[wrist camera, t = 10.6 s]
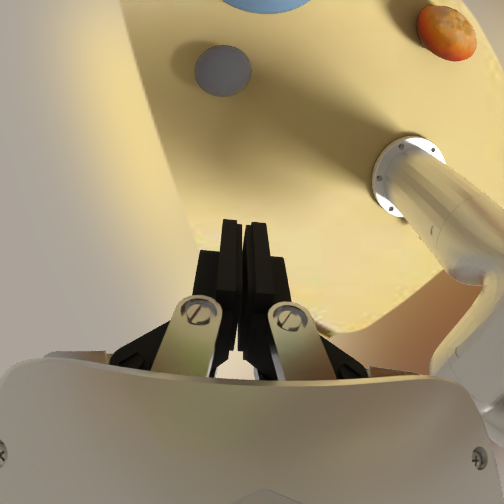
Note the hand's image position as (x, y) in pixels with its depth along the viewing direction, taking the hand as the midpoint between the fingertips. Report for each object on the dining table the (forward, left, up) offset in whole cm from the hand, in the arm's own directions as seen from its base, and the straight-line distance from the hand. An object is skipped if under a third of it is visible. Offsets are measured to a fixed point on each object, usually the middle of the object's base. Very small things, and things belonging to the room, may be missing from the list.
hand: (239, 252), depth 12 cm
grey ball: (+6, -2, -24) cm, 25 cm away
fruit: (0, -30, -27) cm, 41 cm away
